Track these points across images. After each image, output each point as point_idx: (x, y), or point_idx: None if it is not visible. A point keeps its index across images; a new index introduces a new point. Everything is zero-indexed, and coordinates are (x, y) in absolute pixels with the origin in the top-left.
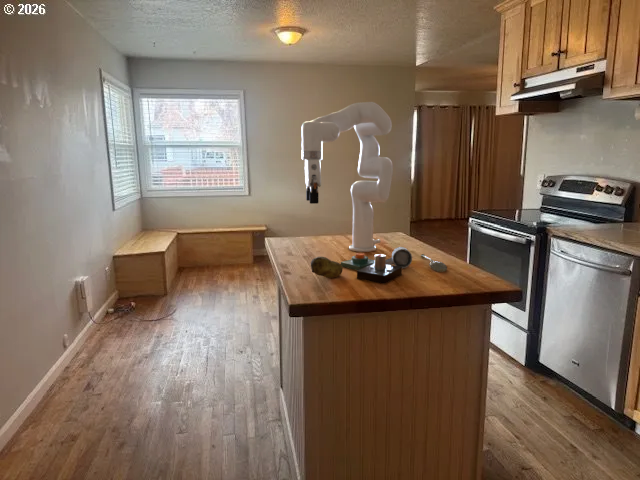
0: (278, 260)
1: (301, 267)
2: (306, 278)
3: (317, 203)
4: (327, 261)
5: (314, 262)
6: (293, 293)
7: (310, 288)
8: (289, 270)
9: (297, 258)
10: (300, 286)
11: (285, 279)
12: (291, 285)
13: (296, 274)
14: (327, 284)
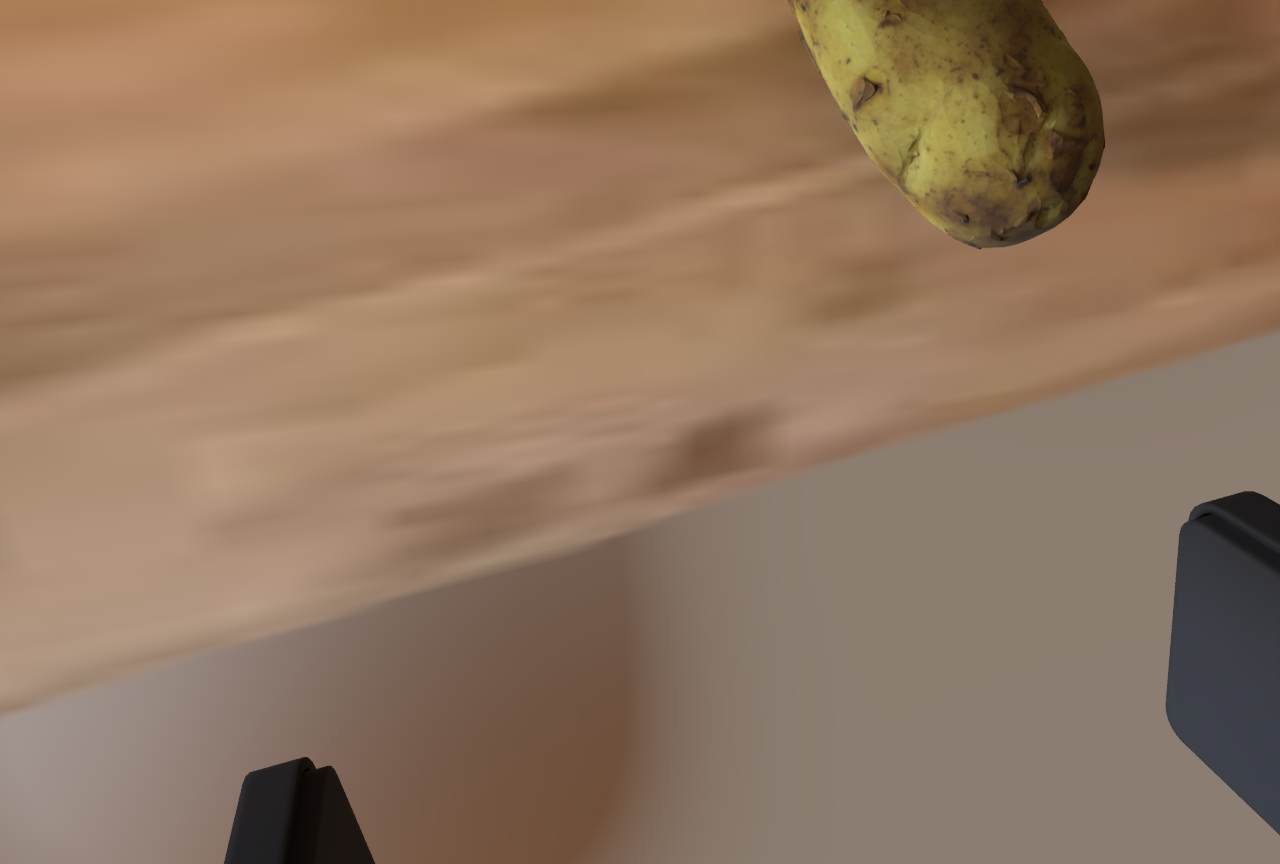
0: (251, 618)
1: (513, 349)
2: (895, 255)
3: (1229, 508)
4: (1065, 51)
5: (1076, 206)
6: (1246, 312)
7: (1166, 193)
8: (632, 445)
9: (107, 447)
10: (1103, 281)
11: (907, 429)
12: (1067, 356)
13: (766, 362)
14: (1093, 41)
